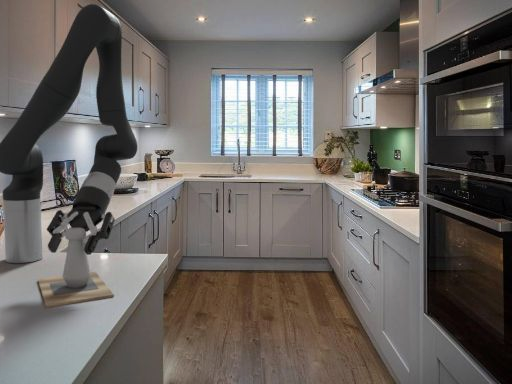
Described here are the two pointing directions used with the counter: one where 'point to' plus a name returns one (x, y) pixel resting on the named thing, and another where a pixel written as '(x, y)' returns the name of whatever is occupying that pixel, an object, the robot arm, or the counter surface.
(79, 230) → the salt shaker
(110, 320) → the counter surface
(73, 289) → the wooden board
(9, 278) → the counter surface
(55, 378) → the counter surface
